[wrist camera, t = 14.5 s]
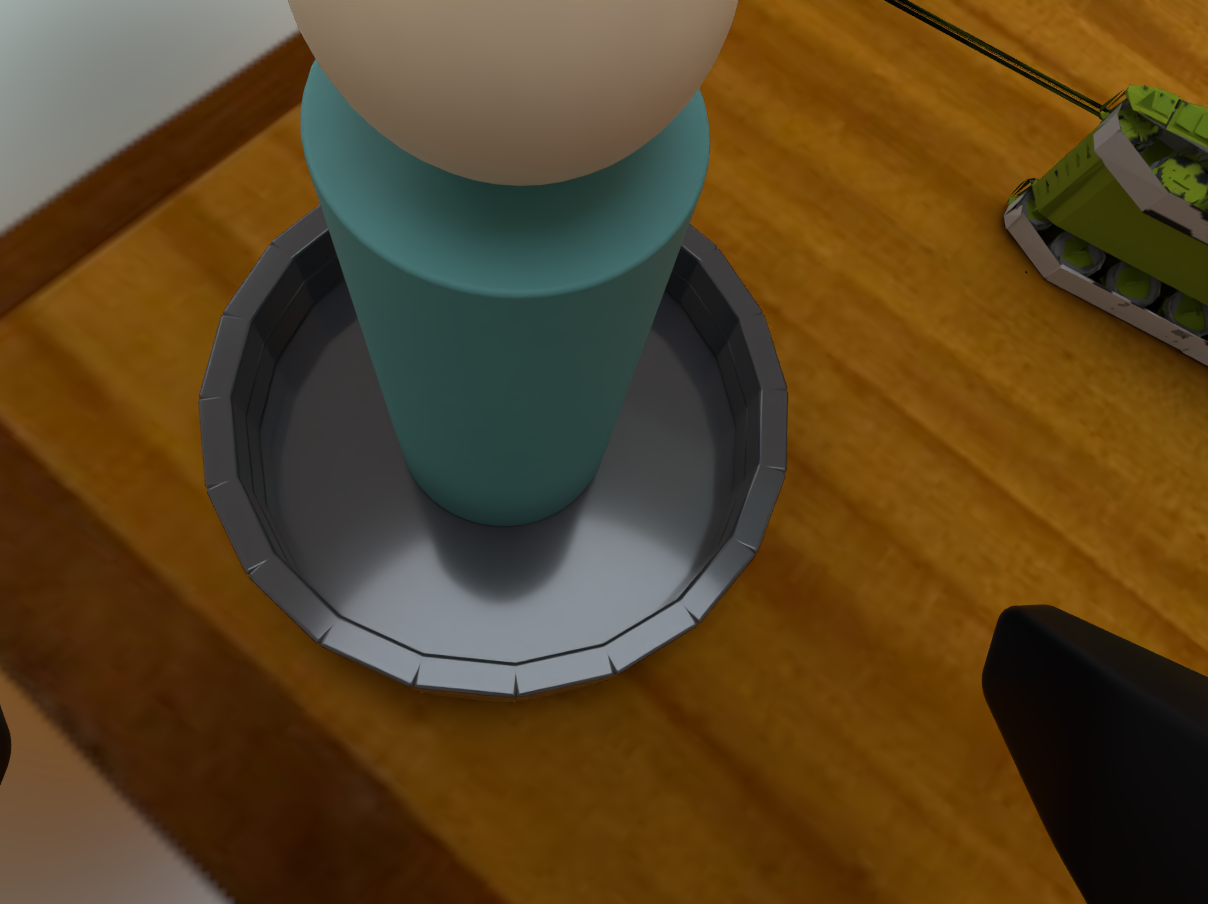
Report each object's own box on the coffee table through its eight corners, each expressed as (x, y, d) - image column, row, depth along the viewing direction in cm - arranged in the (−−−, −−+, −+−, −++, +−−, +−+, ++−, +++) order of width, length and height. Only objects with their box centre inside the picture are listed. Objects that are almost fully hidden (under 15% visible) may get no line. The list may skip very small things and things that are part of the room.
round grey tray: (846, 430, 20) (894, 387, 17) (517, 827, 16) (521, 842, 14) (496, 141, 21) (496, 66, 19) (123, 445, 17) (64, 399, 15)
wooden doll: (599, 334, 19) (807, -495, 6) (613, 523, 17) (917, -53, 5) (400, 335, 18) (183, -580, 6) (397, 531, 17) (99, -102, 4)
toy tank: (1720, 541, 15) (1885, 93, 16) (784, 47, 16) (1010, -327, 18) (1359, 554, 22) (1496, 240, 23) (728, 209, 23) (892, -68, 24)
